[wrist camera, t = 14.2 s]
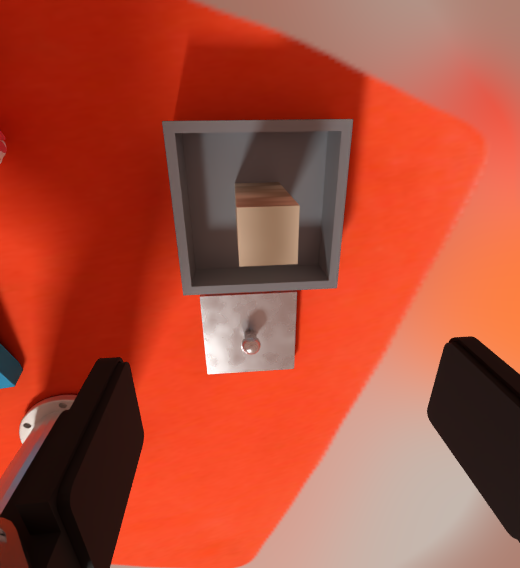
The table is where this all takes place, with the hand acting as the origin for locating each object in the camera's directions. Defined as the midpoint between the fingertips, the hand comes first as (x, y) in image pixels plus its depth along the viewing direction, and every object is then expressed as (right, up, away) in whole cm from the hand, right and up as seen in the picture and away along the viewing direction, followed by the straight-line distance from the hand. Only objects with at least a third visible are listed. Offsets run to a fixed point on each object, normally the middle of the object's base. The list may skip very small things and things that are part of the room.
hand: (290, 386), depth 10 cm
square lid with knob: (-2, -2, +28) cm, 28 cm away
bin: (-1, +11, +22) cm, 24 cm away
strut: (-1, +10, +21) cm, 23 cm away
